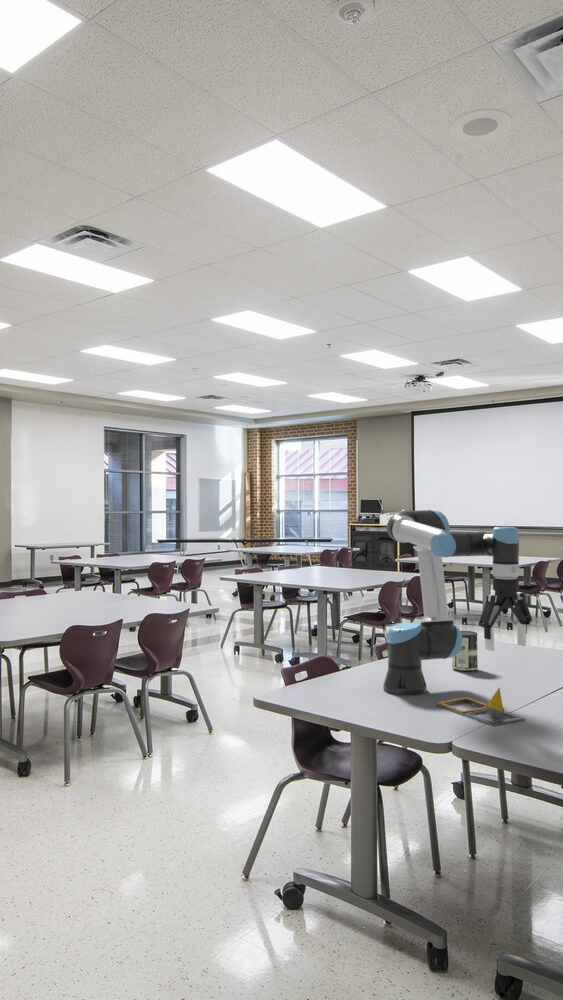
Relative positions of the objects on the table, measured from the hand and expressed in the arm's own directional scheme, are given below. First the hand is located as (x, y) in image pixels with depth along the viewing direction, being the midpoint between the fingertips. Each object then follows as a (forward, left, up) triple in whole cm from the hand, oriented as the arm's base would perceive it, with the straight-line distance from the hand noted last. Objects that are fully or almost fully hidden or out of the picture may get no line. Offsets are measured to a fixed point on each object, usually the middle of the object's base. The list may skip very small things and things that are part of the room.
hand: (505, 647), depth 205 cm
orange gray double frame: (-8, -3, -22) cm, 24 cm away
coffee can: (-58, +36, -22) cm, 72 cm away
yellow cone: (-3, -3, -22) cm, 22 cm away
